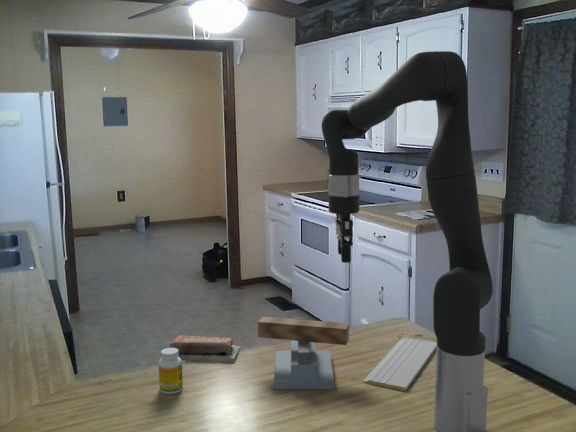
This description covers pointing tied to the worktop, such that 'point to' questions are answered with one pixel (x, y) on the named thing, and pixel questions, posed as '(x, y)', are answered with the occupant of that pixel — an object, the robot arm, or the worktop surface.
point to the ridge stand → (303, 368)
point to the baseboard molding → (401, 363)
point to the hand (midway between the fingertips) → (344, 258)
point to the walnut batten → (303, 330)
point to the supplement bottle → (170, 371)
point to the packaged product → (205, 348)
